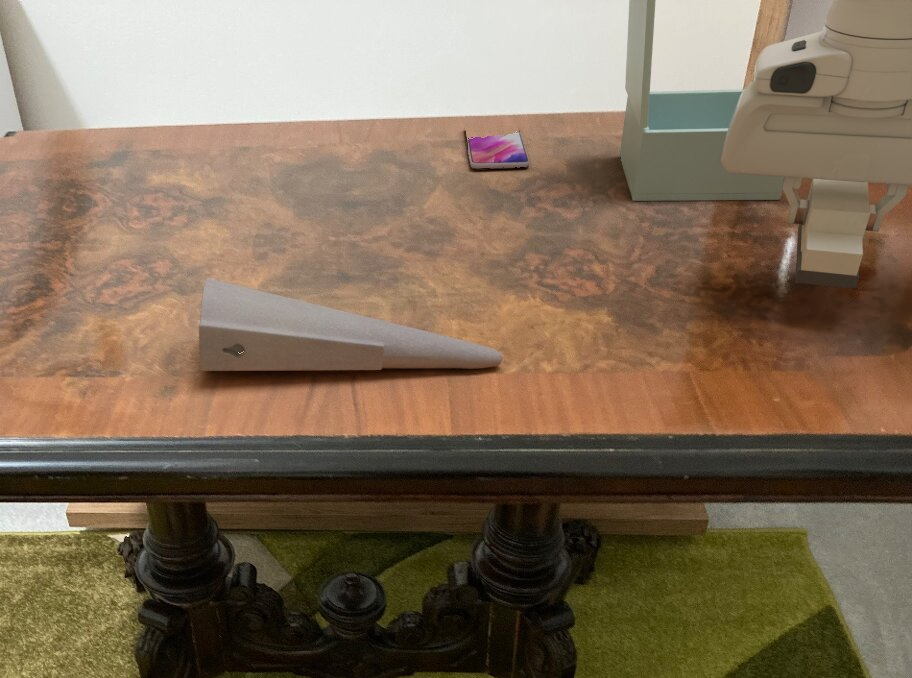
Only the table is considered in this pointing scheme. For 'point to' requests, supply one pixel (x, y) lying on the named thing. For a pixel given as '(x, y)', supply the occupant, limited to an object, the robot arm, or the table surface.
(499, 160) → the smartphone
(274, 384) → the table surface
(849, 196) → the stepped cream block
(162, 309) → the table surface
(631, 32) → the shoebox lid
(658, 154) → the shoebox
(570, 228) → the table surface
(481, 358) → the grey tapered spike
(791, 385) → the table surface
